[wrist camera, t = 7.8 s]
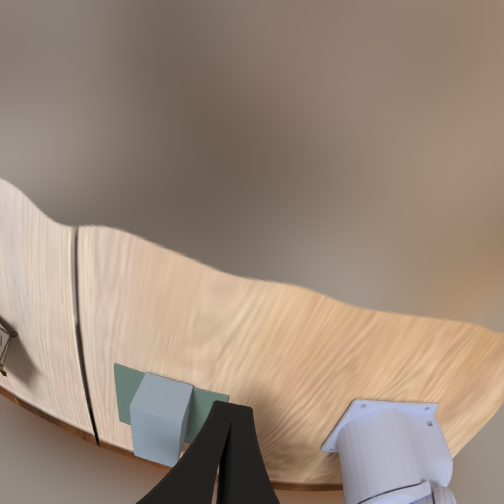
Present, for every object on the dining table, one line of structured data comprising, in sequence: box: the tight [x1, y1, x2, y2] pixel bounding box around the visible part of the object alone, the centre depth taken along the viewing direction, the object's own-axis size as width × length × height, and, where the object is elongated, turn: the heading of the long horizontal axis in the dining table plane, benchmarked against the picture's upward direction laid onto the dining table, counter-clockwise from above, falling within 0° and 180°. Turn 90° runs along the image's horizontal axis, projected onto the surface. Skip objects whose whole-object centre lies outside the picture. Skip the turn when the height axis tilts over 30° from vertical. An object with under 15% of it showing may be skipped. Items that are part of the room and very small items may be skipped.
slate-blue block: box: [129, 372, 193, 467], centre depth 23 cm, size 4×4×8 cm
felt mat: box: [114, 363, 229, 443], centre depth 25 cm, size 10×9×1 cm
